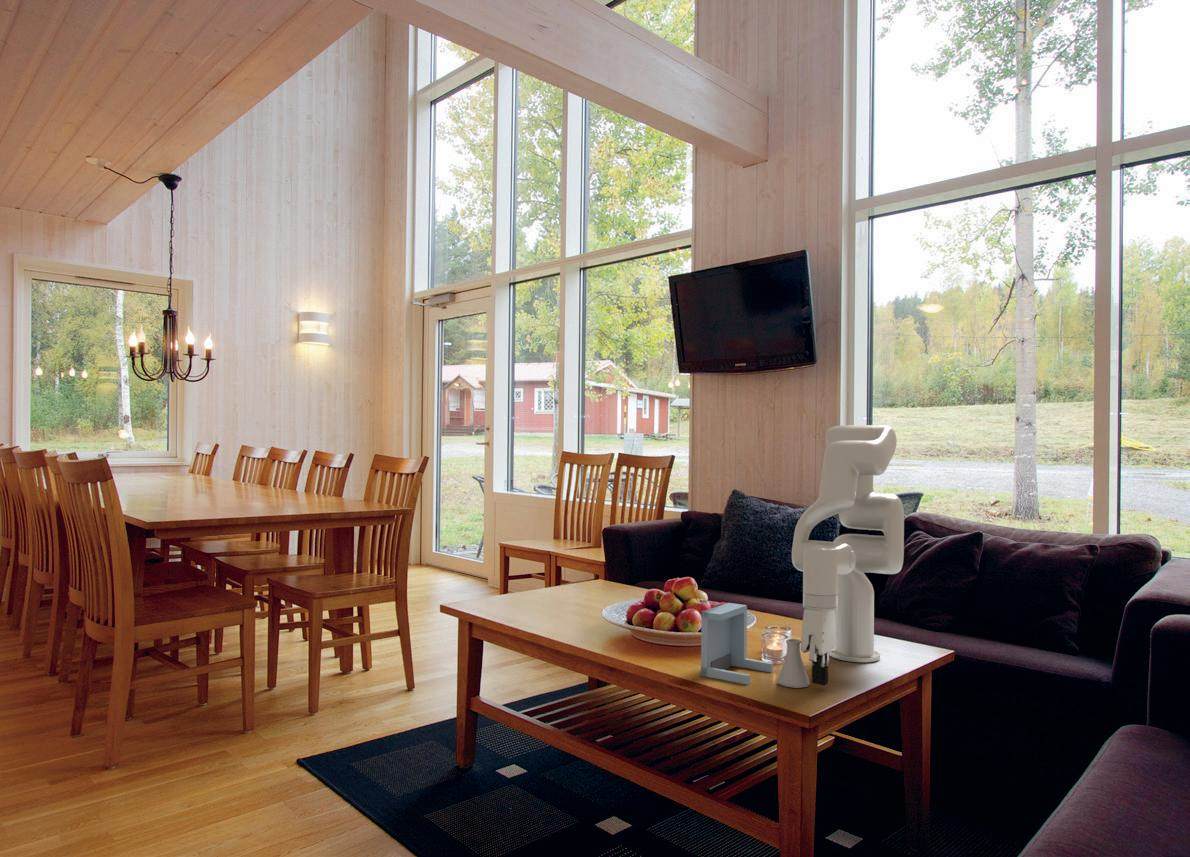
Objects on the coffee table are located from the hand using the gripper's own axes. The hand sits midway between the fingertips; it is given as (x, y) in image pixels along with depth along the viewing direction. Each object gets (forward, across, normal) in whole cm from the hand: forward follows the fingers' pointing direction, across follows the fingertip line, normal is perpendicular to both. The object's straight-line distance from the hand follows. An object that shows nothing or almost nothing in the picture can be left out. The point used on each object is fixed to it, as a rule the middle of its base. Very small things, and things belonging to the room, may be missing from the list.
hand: (819, 683), depth 182 cm
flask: (+2, 0, -6) cm, 6 cm away
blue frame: (+1, 0, -20) cm, 20 cm away
